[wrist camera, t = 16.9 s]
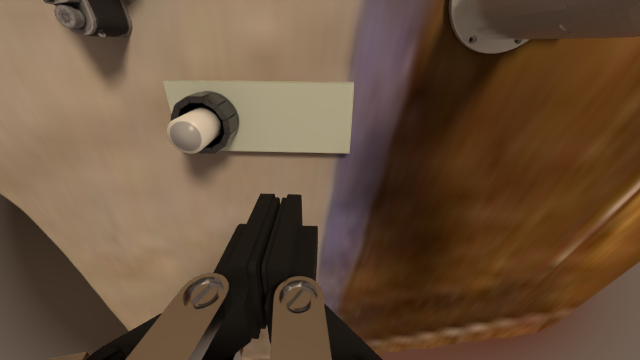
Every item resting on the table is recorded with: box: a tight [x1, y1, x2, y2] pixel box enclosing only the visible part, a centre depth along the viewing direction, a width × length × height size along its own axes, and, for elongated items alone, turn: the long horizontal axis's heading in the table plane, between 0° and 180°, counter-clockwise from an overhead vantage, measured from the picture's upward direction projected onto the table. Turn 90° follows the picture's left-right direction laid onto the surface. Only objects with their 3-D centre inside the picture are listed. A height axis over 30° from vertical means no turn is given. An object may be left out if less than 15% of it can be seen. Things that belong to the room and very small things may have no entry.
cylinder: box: [167, 105, 224, 154], centre depth 33 cm, size 4×4×7 cm
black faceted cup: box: [171, 91, 239, 153], centre depth 35 cm, size 8×8×4 cm
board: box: [163, 80, 354, 153], centre depth 38 cm, size 26×10×2 cm, turn 90°
